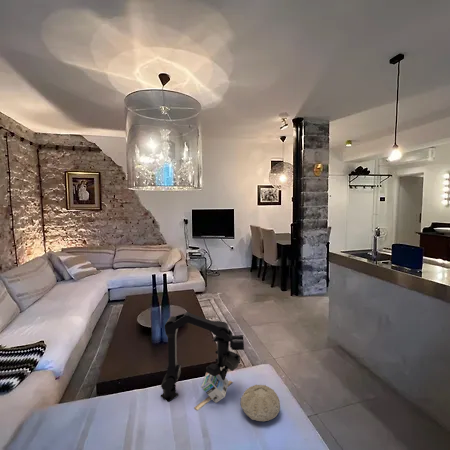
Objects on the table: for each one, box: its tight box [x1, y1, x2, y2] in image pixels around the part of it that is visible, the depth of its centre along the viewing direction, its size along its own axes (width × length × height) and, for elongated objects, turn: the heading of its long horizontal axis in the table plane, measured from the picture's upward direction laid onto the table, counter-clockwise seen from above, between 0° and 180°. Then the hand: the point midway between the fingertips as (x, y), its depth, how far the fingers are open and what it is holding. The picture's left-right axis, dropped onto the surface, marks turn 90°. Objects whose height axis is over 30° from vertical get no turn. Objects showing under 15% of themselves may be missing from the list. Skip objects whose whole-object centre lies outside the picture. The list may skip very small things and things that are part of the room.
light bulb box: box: [200, 372, 230, 404], centre depth 136 cm, size 11×7×11 cm
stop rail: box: [193, 380, 234, 411], centre depth 137 cm, size 2×26×1 cm, turn 139°
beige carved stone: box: [240, 384, 281, 422], centre depth 125 cm, size 18×18×10 cm
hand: (223, 379), depth 135 cm, fingers closed
